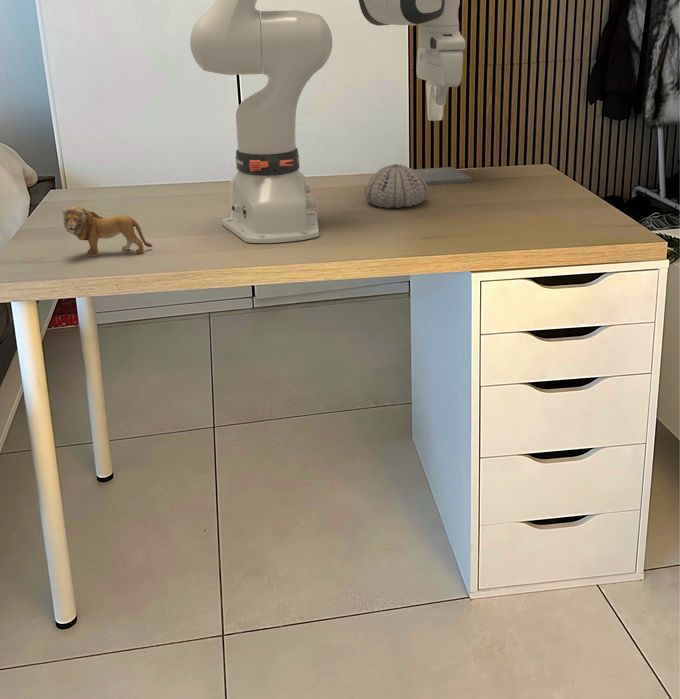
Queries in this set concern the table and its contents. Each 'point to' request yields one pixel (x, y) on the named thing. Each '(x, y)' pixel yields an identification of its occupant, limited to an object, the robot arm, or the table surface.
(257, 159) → the robot arm
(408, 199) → the sea urchin shell
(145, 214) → the table surface
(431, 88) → the milkshake
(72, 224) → the lion figurine
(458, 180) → the pad
